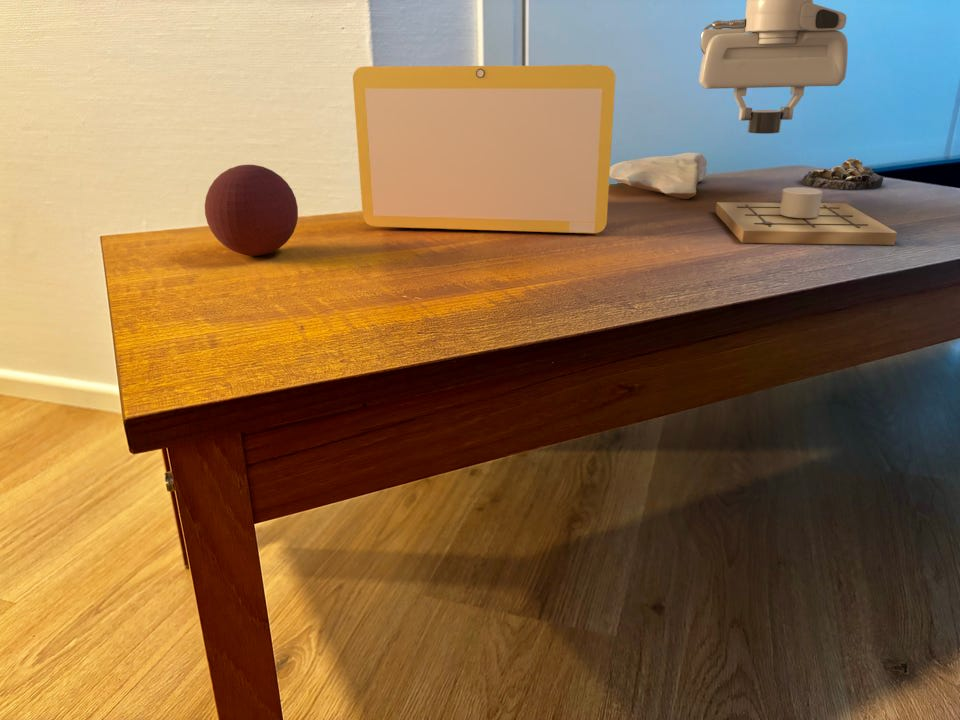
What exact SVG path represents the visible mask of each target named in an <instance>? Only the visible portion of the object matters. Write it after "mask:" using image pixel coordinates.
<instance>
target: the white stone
mask: <svg viewBox="0 0 960 720" xmlns="http://www.w3.org/2000/svg"><path fill="white" fill-rule="evenodd" d="M823 193H824V191H822V189H821V190H820V189H818V188H813V187H804V186H803V187H801V186H800V187H799V186H793V187H785V188H783V189H782V192H781V199H780V203H781V205H780V212H779V213H780V214H781V215H783V216H786V217H792V218H815V217H818V216H819V212H820V206H821V203H822V201H823V199H822V198H823Z"/></svg>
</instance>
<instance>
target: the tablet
mask: <svg viewBox="0 0 960 720" xmlns="http://www.w3.org/2000/svg"><path fill="white" fill-rule="evenodd" d="M352 87H353V100H354V101H353V102H354V114H355V127H356V128H355V129H356V143H357V144H356V145H357V157H358V169H359V170H358V172H359V182H360V183H359V184H360V199H361V211H362V218H363V220H364V222H365V223H366V224H367V225H368V226H370V227H375V228H377V227H379V228H411V229H439V230H440V229H443V230H444V229H445V230H477V231H503V232H505V231H506V232H507V231H508V232H509V231H510V232H541V233H567V234H568V233H569V234H571V233H572V234H573V233H575V234H599V233H601V232H603V231H604V230H605V228H606V227H607V224H608V223H607V221H608V208H609V207H608V206H609V191H610V166H611V157H612V139H613V127H614V126H613V124H614V123H613V122H614V106H615V91H616V90H615V89H616V74H615V71H614V70H613V68H612V67H610V66H608V65H603V64H602V65H601V64H600V65H599V64H598V65H596V64H594V65H592V64H555V65H554V64H553V65H552V64H551V65H550V64H549V65H401V66H400V65H399V66H398V65H396V66H395V65H393V66H392V65H389V66H388V65H387V66H384V65H383V66H382V65H381V66H379V65H378V66H376V65H375V66H374V65H373V66H370V65H369V66H367V65H364V66H360V67H357V69H356V68H355V70H354V72H353V75H352Z"/></svg>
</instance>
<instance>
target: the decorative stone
mask: <svg viewBox="0 0 960 720" xmlns="http://www.w3.org/2000/svg"><path fill="white" fill-rule="evenodd" d="M707 163H708V161H707V159H706V157H705V156H704V154H703V153H701V152H684V153H678V154H671V155H659V156H657V155H656V156H648V157H644V158H634V159H628V160H623V161H620V162H617V163H615V164H612V165H610V176H609V178H611V179H613V180H614V181H616V182H619V183H622V184H624V185H628V186H630V187H632V188H637V189H642V190H647V191H651V192H657V193H662V194H665V195H666V196H670V197H673V198H677V199H681V200H689V199H690V198H693V197H695V196H696V194H697V185H698V183H700V182H702V181H703V180H704V178H705V177H706V174H707Z"/></svg>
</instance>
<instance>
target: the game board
mask: <svg viewBox="0 0 960 720" xmlns="http://www.w3.org/2000/svg"><path fill="white" fill-rule="evenodd" d="M780 205H781V202H736V201H735V202H731V201H730V202H729V201H727V202H725V201H724V202H723V201H720V202H719V201H718V202H716V205H715V215H717V217H718V218H719V219H720V220H721V221H722V222H723V223H724V224H725V226H726V227H727V228H728V229H729V230H730V231H731V233H733V235H734V236H735V237H736V239H738V241H740V243H742V244H783V245H784V244H786V245H787V244H788V245H789V244H792V245H798V244H799V245H863V246H864V245H866V246H867V245H868V246H896V245H895V244H896V240H897V234H898V232H897V231H896V230H893V228H891V227H888V226H886V225H885V224H883V223H882V222H880V221H878V220H876V219H875V218H873V217H872V216H869V215H867V214H866V213H863V212H862V211H860V210H859V209H857V208H855V207H853V206H851V205H850V204H848V203H846V202H842V203H841V202H821V206H820V212H819V216H818V217H815V218H792V217H786V216H783V215H781V214H780V213H779V212H780Z"/></svg>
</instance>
